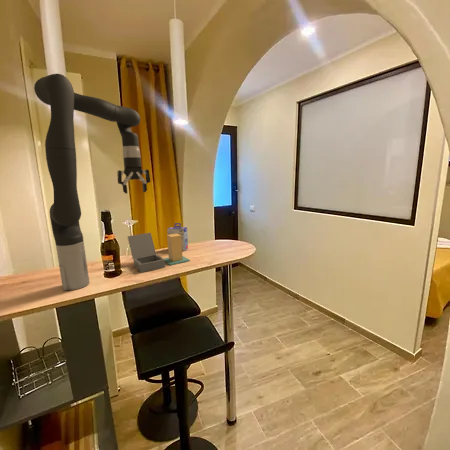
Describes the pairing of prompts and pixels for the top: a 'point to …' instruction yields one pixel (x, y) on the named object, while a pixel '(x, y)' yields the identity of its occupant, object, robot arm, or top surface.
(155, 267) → the case
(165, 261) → the mat
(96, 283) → the top surface
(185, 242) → the ink cartridge box
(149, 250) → the lid
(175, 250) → the block
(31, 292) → the top surface
